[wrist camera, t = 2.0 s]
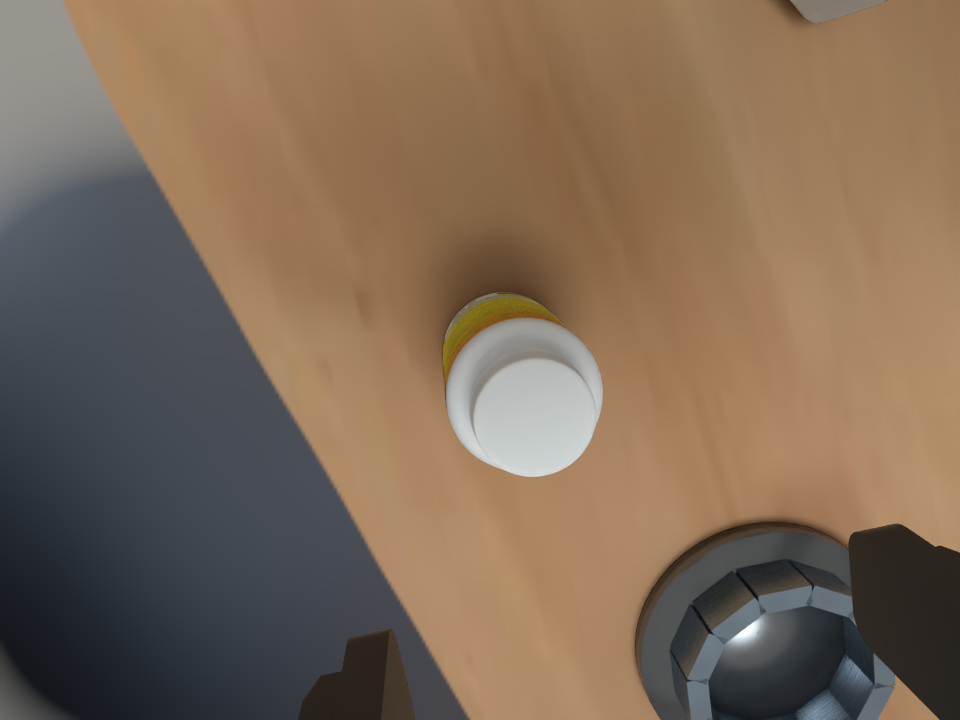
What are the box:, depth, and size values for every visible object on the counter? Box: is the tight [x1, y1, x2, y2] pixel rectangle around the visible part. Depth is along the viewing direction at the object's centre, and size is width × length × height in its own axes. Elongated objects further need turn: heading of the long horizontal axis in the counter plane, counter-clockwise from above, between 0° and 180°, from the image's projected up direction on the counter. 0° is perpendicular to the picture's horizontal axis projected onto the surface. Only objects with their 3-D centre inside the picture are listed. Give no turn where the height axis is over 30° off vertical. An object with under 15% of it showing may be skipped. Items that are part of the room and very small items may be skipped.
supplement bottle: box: [442, 292, 603, 477], centre depth 26 cm, size 6×6×10 cm
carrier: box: [635, 522, 895, 720], centre depth 34 cm, size 13×13×4 cm
